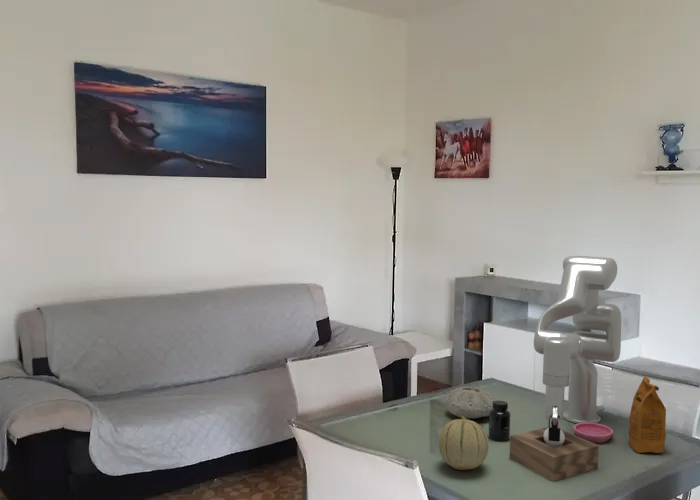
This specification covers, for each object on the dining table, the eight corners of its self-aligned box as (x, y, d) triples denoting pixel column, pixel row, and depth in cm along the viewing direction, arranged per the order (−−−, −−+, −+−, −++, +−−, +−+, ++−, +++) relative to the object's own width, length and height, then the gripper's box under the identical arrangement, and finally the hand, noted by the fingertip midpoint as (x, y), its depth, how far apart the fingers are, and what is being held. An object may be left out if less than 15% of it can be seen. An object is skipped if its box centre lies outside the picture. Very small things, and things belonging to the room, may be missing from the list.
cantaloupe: (455, 482, 185) (456, 430, 183) (428, 462, 198) (429, 414, 197) (498, 473, 191) (500, 423, 189) (470, 454, 204) (471, 407, 203)
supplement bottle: (510, 442, 214) (511, 406, 212) (488, 441, 215) (489, 405, 214) (509, 434, 220) (510, 400, 219) (488, 433, 222) (489, 398, 220)
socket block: (552, 447, 210) (553, 425, 209) (598, 468, 194) (599, 445, 193) (509, 457, 202) (510, 435, 201) (553, 481, 186) (554, 457, 185)
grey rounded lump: (473, 404, 250) (473, 379, 250) (506, 419, 235) (507, 391, 234) (436, 413, 241) (436, 386, 240) (468, 428, 226) (469, 400, 225)
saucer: (568, 439, 217) (568, 430, 216) (578, 428, 227) (579, 419, 227) (608, 448, 210) (608, 438, 210) (616, 436, 220) (617, 426, 220)
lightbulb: (539, 458, 201) (540, 423, 200) (559, 457, 202) (560, 423, 200) (547, 467, 195) (548, 431, 194) (567, 466, 196) (568, 430, 194)
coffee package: (657, 441, 215) (660, 375, 213) (667, 456, 203) (671, 387, 201) (624, 439, 217) (627, 373, 215) (633, 454, 205) (636, 385, 203)
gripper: (543, 370, 205) (541, 423, 206) (542, 386, 188) (540, 444, 190) (568, 372, 202) (566, 426, 204) (570, 388, 186) (567, 447, 188)
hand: (553, 434), depth 197 cm, fingers open, 9 cm apart
